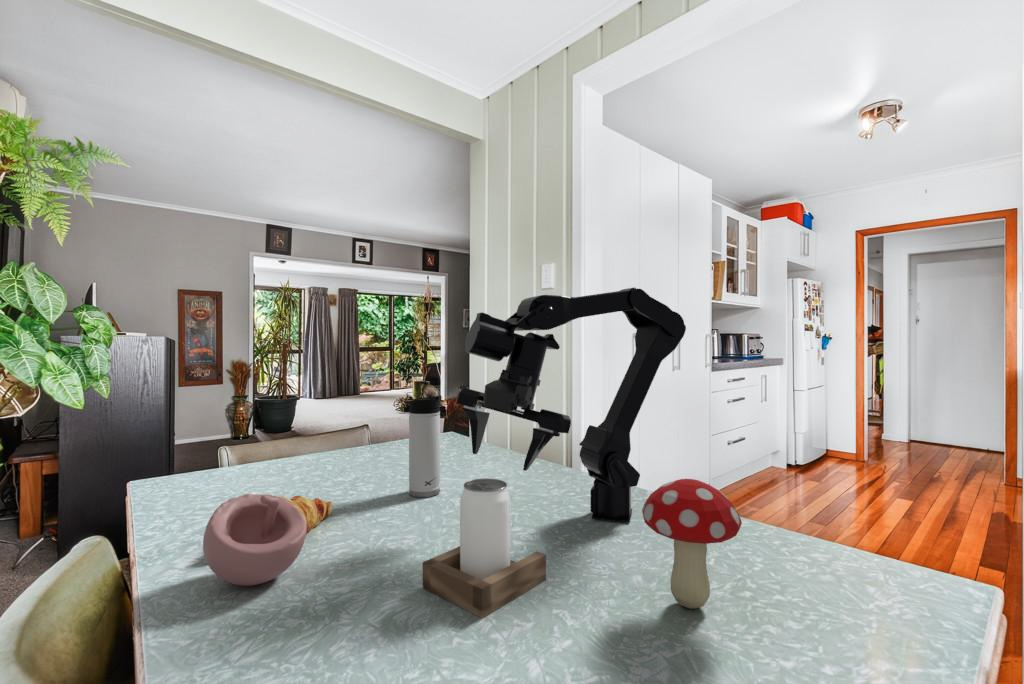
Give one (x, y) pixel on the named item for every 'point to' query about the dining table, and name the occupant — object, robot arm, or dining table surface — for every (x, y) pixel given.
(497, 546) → the can
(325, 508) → the croissant
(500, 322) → the robot arm
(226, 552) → the mortar and pestle
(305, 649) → the dining table surface
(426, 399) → the travel mug
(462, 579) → the cradle
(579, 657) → the dining table surface
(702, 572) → the decorative mushroom
